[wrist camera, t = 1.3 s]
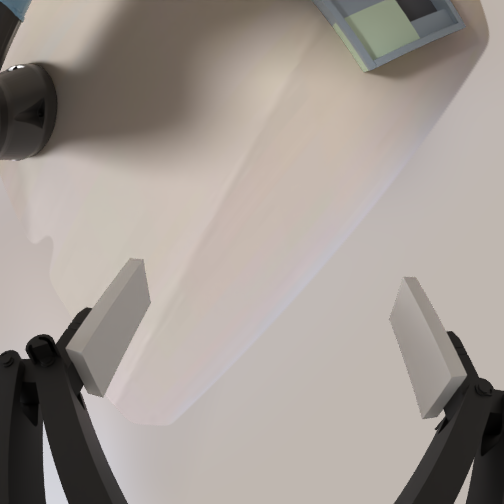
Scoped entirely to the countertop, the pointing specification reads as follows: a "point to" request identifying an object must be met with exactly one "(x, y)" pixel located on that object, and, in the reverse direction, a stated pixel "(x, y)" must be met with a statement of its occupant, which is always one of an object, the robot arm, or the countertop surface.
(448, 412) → the robot arm
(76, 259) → the countertop surface
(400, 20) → the blue gray tray
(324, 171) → the countertop surface
